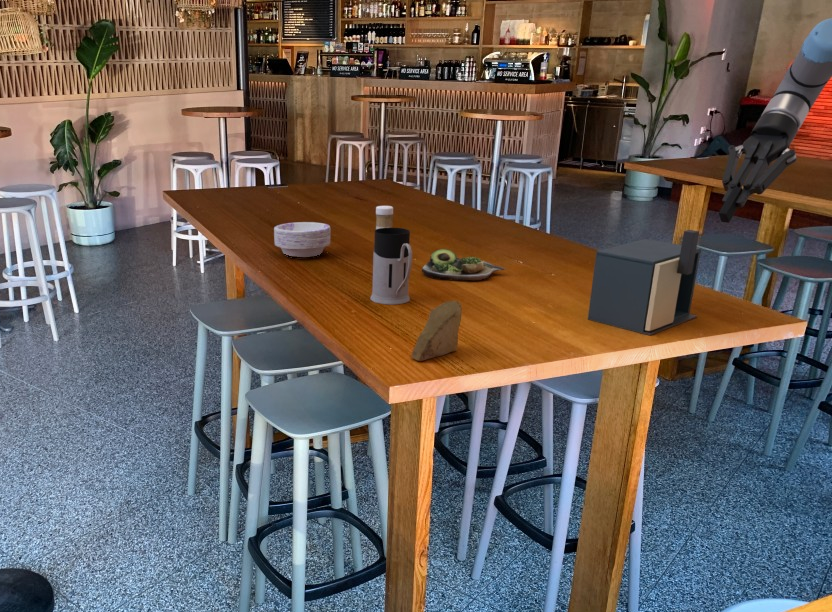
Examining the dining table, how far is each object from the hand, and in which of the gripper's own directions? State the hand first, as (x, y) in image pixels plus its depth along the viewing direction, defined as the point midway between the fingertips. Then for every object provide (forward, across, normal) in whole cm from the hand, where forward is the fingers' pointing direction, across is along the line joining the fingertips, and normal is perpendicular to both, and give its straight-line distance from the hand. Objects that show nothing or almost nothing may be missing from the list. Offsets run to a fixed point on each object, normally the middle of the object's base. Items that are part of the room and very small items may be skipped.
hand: (723, 217), depth 154 cm
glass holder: (+43, +48, +15) cm, 67 cm away
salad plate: (+22, +57, -6) cm, 62 cm away
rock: (+56, +20, +27) cm, 66 cm away
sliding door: (+25, +1, -3) cm, 25 cm away
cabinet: (+22, +8, -6) cm, 24 cm away
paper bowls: (+34, +97, +6) cm, 103 cm away
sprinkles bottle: (+23, +81, -5) cm, 85 cm away
